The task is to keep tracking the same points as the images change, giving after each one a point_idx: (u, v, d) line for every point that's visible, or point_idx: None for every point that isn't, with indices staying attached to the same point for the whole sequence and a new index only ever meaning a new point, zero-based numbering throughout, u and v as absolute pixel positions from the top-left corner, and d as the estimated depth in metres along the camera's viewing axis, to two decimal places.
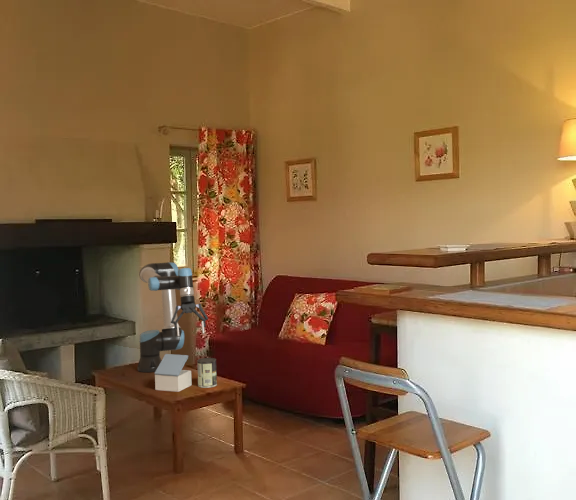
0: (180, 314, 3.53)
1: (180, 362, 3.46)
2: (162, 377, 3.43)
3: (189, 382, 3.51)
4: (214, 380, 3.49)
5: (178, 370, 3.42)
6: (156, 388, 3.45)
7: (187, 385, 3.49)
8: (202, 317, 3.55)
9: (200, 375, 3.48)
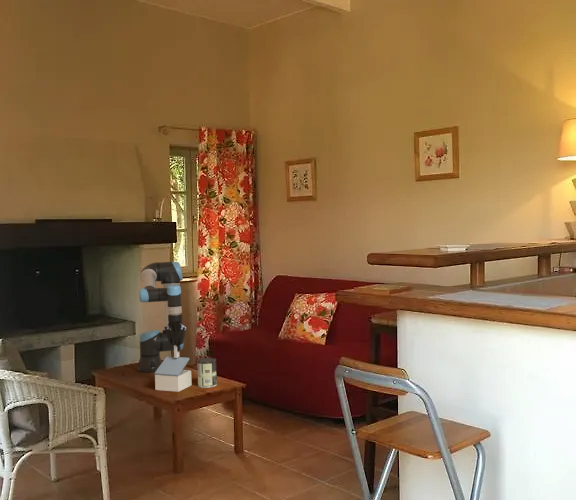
0: (171, 335, 3.51)
1: (181, 363, 3.47)
2: (162, 377, 3.43)
3: (189, 382, 3.51)
4: (214, 380, 3.49)
5: (178, 370, 3.42)
6: (156, 388, 3.45)
7: (187, 385, 3.49)
8: (177, 341, 3.50)
9: (200, 375, 3.48)
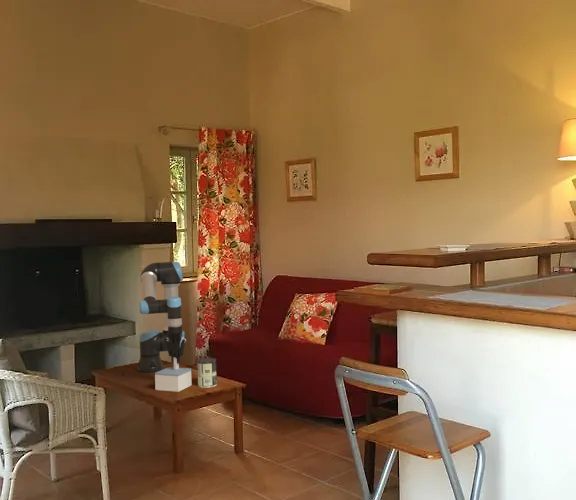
0: (171, 346, 3.50)
1: (182, 370, 3.49)
2: (162, 377, 3.43)
3: (189, 382, 3.51)
4: (214, 380, 3.49)
5: (179, 373, 3.43)
6: (156, 388, 3.45)
7: (187, 385, 3.49)
8: (177, 353, 3.49)
9: (200, 375, 3.48)
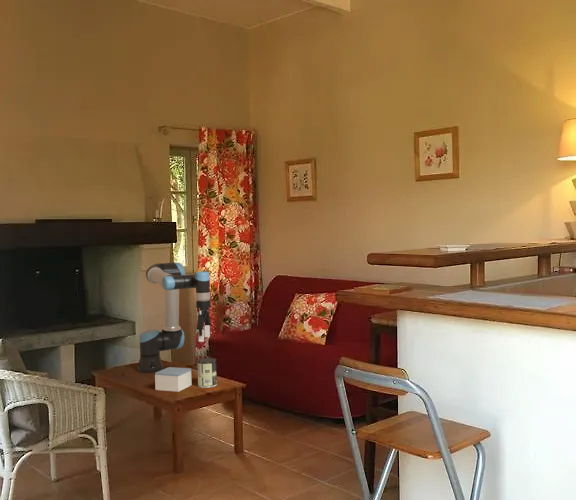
0: None
1: (182, 370, 3.49)
2: (162, 377, 3.43)
3: (189, 382, 3.51)
4: (214, 380, 3.49)
5: (179, 373, 3.43)
6: (156, 388, 3.45)
7: (187, 385, 3.49)
8: None
9: (200, 375, 3.48)
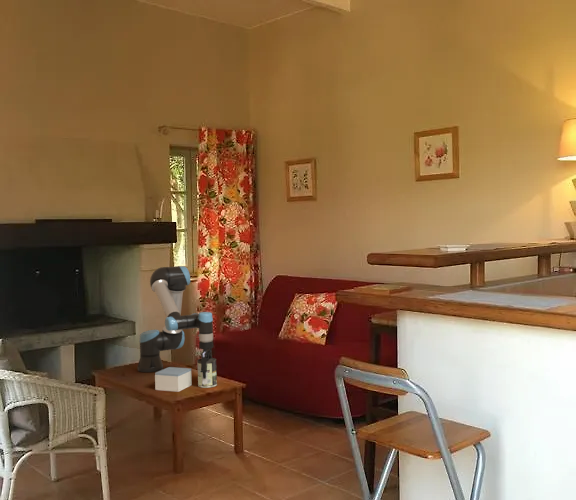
0: None
1: (182, 370, 3.49)
2: (162, 377, 3.43)
3: (189, 382, 3.51)
4: (214, 380, 3.49)
5: (179, 373, 3.43)
6: (156, 388, 3.45)
7: (187, 385, 3.49)
8: None
9: (200, 375, 3.48)
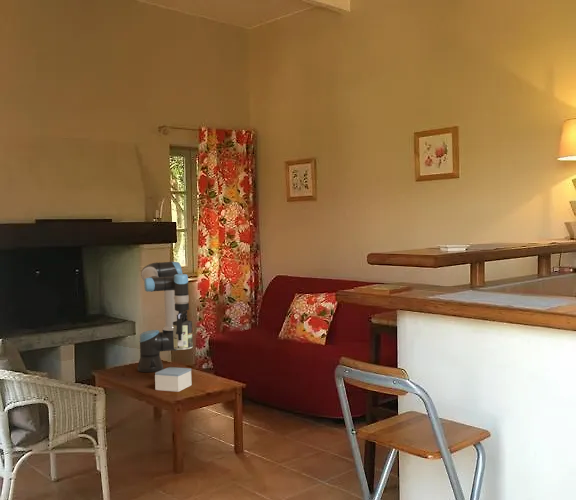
0: None
1: (182, 370, 3.49)
2: (162, 377, 3.43)
3: (189, 382, 3.51)
4: (190, 342, 3.47)
5: (179, 373, 3.43)
6: (156, 388, 3.45)
7: (187, 385, 3.49)
8: None
9: (176, 337, 3.45)
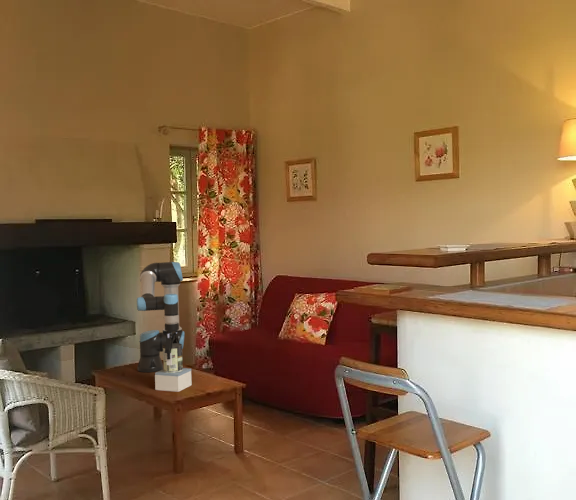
0: None
1: None
2: (162, 377, 3.43)
3: (189, 382, 3.51)
4: (180, 365, 3.46)
5: (179, 373, 3.43)
6: (156, 388, 3.45)
7: (187, 385, 3.49)
8: None
9: (165, 360, 3.45)
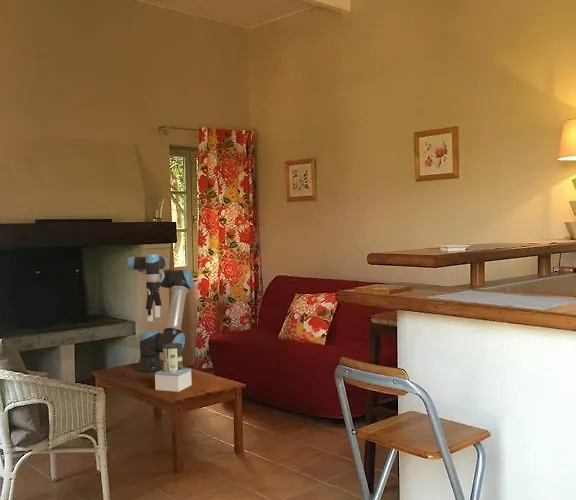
0: None
1: None
2: (162, 377, 3.43)
3: (189, 382, 3.51)
4: (180, 365, 3.46)
5: (179, 373, 3.43)
6: (156, 388, 3.45)
7: (187, 385, 3.49)
8: None
9: (165, 360, 3.45)
